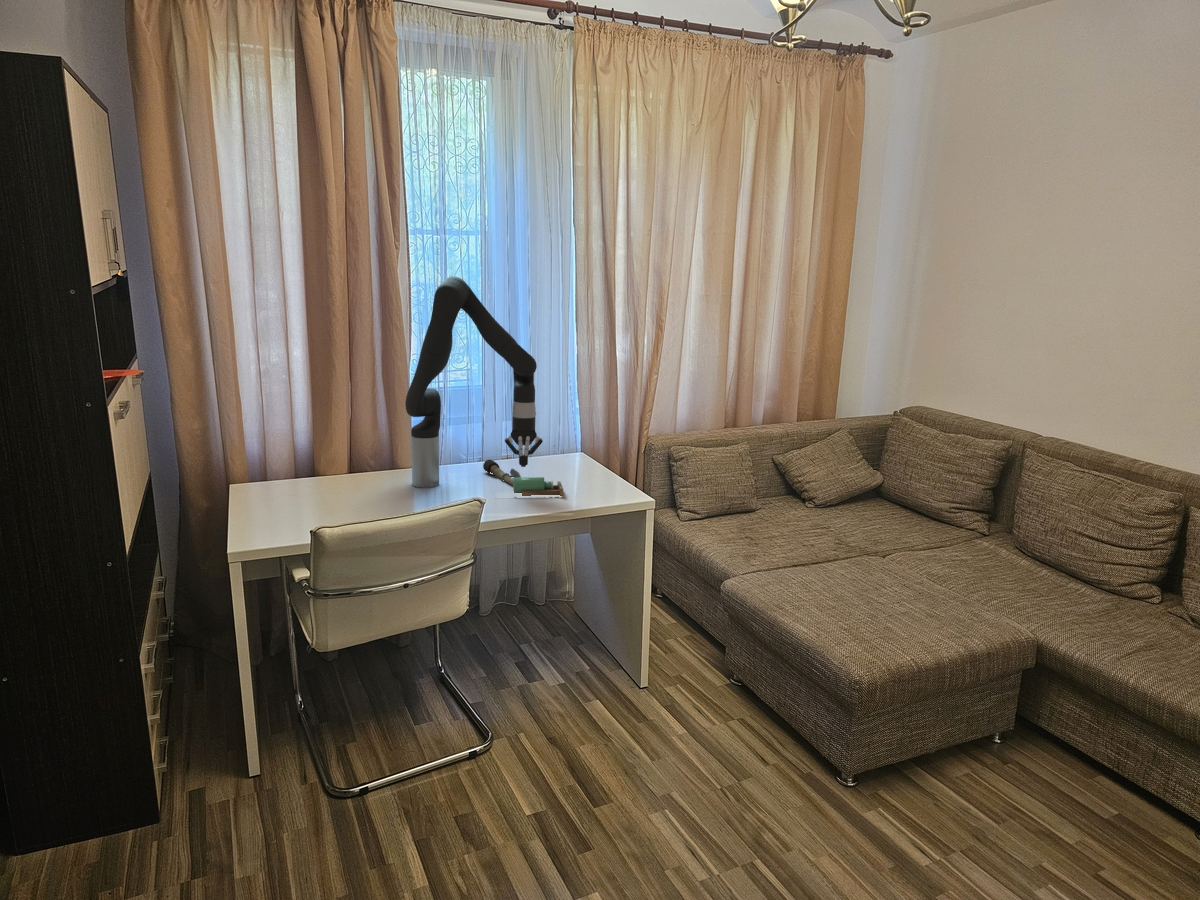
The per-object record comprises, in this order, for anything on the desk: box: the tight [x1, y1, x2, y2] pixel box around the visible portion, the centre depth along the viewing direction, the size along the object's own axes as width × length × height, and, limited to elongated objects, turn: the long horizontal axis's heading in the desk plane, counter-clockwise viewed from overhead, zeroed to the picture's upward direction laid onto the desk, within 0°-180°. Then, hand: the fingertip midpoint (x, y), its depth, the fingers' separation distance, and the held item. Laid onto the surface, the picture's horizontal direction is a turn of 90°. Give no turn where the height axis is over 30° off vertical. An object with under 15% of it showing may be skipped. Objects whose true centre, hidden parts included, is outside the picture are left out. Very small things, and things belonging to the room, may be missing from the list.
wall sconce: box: [482, 459, 522, 486], centre depth 289 cm, size 5×6×30 cm
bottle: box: [512, 476, 554, 493], centre depth 273 cm, size 5×5×13 cm
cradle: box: [522, 481, 564, 497], centre depth 273 cm, size 9×22×4 cm, turn 99°
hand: (523, 466), depth 271 cm, fingers closed
